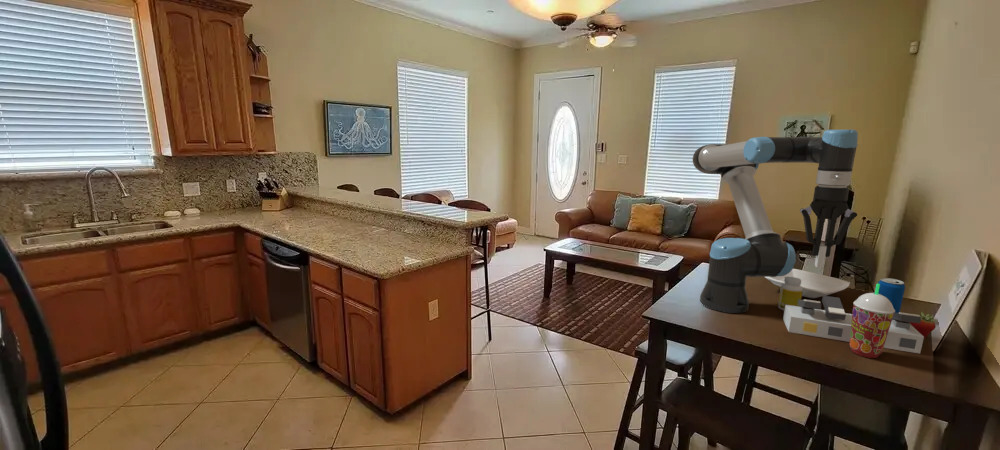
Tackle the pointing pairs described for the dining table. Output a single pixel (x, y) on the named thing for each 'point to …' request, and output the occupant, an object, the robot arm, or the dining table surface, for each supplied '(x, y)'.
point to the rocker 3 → (907, 317)
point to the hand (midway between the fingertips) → (818, 266)
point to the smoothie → (870, 324)
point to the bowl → (813, 283)
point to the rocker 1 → (809, 304)
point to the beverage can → (892, 291)
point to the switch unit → (848, 328)
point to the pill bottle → (790, 292)
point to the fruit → (924, 324)
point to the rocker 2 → (833, 307)
